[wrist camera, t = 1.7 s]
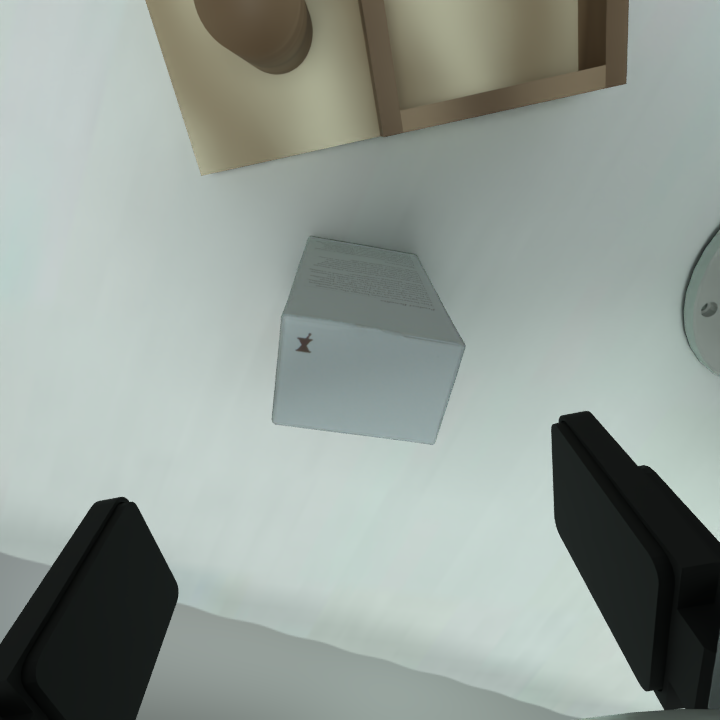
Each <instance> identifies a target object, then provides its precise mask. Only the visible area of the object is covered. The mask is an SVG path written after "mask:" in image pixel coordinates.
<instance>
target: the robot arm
mask: <svg viewBox="0 0 720 720" xmlns="http://www.w3.org/2000/svg"><path fill="white" fill-rule="evenodd" d="M684 323H685V332H686V335H687V338H688V341H689V344H690V347H691V349H692V350H693V352H694V353H695V355H696V356H697V358H698V360H699V361H700V362H701V363H702V364H703V365H705V366H706V367H707V368H708V369H709V370H710V371H711V372H713V373H714V374H716V375H718V376H719V377H720V230H719V231H718V233H717V234H716V235H715V237H714V238H713V239H712V241H711V242H710V243H709V245H708V246H707V247H706V249H705V250H704V252H703V254H702V256H701V258H700V260H699V262H698V263H697V265H696V267H695V269H694V271H693V274H692V277H691V280H690V283H689V286H688V289H687V292H686V299H685V306H684ZM551 435H552V463H553V491H554V517H555V523H556V527H557V530H558V533H559V535H560V537H561V539H562V540H563V542H564V544H565V546H566V548H567V550H568V552H569V553H570V555H571V557H572V559H573V561H574V563H575V565H576V567H577V568H578V570H579V572H580V574H581V576H582V578H583V580H584V581H585V583H586V585H587V587H588V589H589V591H590V593H591V595H592V596H593V598H594V600H595V602H596V604H597V606H598V608H599V609H600V611H601V613H602V615H603V617H604V619H605V621H606V623H607V624H608V626H609V628H610V630H611V632H612V634H613V636H614V637H615V639H616V641H617V643H618V645H619V647H620V649H621V651H622V652H623V654H624V656H625V658H626V660H627V662H628V664H629V665H630V667H631V669H632V671H633V673H634V675H635V677H636V679H637V680H638V682H639V684H640V685H641V687H642V688H643V689H644V690H645V691H652V690H654V692H655V694H656V696H657V698H658V699H659V701H660V703H661V705H662V707H663V708H664V710H661V711H648V712H634V713H625V714H617V715H609V716H601V717H593V718H585V719H577V720H720V542H719V541H718V540H717V539H716V538H715V537H714V536H713V535H712V533H711V532H710V531H709V530H708V529H707V528H706V527H705V526H704V525H703V524H702V523H701V521H700V520H699V519H698V518H697V517H696V516H695V515H694V514H693V513H692V512H691V510H690V509H689V508H688V507H687V506H686V505H685V504H684V503H683V502H682V501H681V500H680V498H679V497H678V496H677V495H676V494H675V493H674V492H673V491H672V490H671V489H670V488H669V486H668V485H667V484H666V483H665V482H664V481H663V480H662V479H661V478H660V477H659V475H658V474H657V473H656V472H655V471H654V470H652V469H651V468H650V467H648V466H645V465H642V466H637V465H636V463H635V462H634V461H633V460H632V459H631V458H630V457H629V456H628V454H627V453H626V452H625V451H624V450H623V449H622V448H621V446H620V445H619V444H618V443H617V442H616V441H615V440H614V438H613V437H612V436H611V435H610V434H609V433H608V432H607V430H606V429H605V428H604V427H603V426H602V425H601V424H600V422H599V421H598V420H597V419H596V418H595V417H594V416H593V415H592V414H591V413H590V412H589V411H583V412H578V413H573V414H567V415H562V416H560V418H559V423H556V424H553V425H552V427H551ZM177 599H178V585H177V582H176V580H175V578H174V576H173V574H172V572H171V571H170V569H169V567H168V565H167V563H166V561H165V559H164V557H163V555H162V553H161V551H160V549H159V547H158V545H157V543H156V542H155V540H154V538H153V536H152V534H151V532H150V530H149V528H148V526H147V524H146V522H145V520H144V518H143V516H142V514H141V513H140V511H139V509H138V507H137V505H136V504H135V503H134V502H129V501H128V499H126V498H125V497H118V498H113V499H107V500H102V501H98V502H96V503H94V504H93V506H92V507H91V508H90V510H89V511H88V513H87V514H86V516H85V517H84V519H83V520H82V522H81V523H80V525H79V526H78V528H77V529H76V531H75V532H74V534H73V535H72V537H71V538H70V540H69V541H68V543H67V544H66V546H65V547H64V549H63V550H62V552H61V553H60V555H59V556H58V558H57V559H56V561H55V562H54V564H53V565H52V567H51V569H50V570H49V572H48V573H47V574H46V576H45V578H44V579H43V581H42V582H41V584H40V585H39V587H38V588H37V590H36V591H35V593H34V594H33V596H32V597H31V599H30V600H29V602H28V603H27V605H26V606H25V608H24V609H23V611H22V612H21V614H20V615H19V617H18V618H17V620H16V621H15V623H14V624H13V626H12V627H11V629H10V630H9V632H8V633H7V635H6V636H5V638H4V639H3V641H2V642H1V644H0V720H136V717H137V714H138V711H139V708H140V705H141V703H142V700H143V697H144V694H145V691H146V688H147V685H148V683H149V680H150V677H151V674H152V671H153V668H154V665H155V663H156V659H157V657H158V654H159V651H160V648H161V646H162V642H163V640H164V637H165V634H166V631H167V628H168V626H169V623H170V620H171V617H172V614H173V611H174V608H175V606H176V603H177ZM681 708H685V709H681ZM674 709H675V710H674Z"/></svg>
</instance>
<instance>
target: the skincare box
mask: <svg viewBox="0 0 720 720" xmlns="http://www.w3.org/2000/svg"><path fill="white" fill-rule="evenodd" d="M464 350H465V343H464V342H463V340H462V338H461V337H460V335H459V333H458V331H457V329H456V328H455V326H454V324H453V322H452V320H451V319H450V317H449V315H448V313H447V311H446V310H445V308H444V306H443V304H442V302H441V300H440V298H439V296H438V294H437V293H436V291H435V289H434V287H433V285H432V283H431V281H430V279H429V278H428V276H427V274H426V272H425V270H424V268H423V266H422V264H421V262H420V261H419V259H418V257H417V256H416V255H414V254H408V253H403V252H397V251H392V250H386V249H381V248H375V247H369V246H364V245H358V244H352V243H347V242H341V241H335V240H329V239H323V238H317V237H313V236H310V237H309V238H308V241H307V243H306V247H305V250H304V253H303V256H302V258H301V261H300V264H299V267H298V270H297V273H296V276H295V279H294V282H293V285H292V288H291V291H290V294H289V298H288V301H287V303H286V306H285V309H284V311H283V314H282V316H281V326H280V338H279V348H278V359H277V369H276V379H275V390H274V400H273V411H272V422H273V423H274V424H275V425H285V426H292V427H300V428H308V429H315V430H323V431H331V432H339V433H347V434H355V435H363V436H372V437H379V438H387V439H394V440H402V441H410V442H417V443H424V444H430V445H433V444H435V442H436V439H437V435H438V432H439V429H440V426H441V423H442V420H443V417H444V413H445V410H446V407H447V404H448V401H449V398H450V394H451V391H452V388H453V385H454V382H455V379H456V376H457V372H458V369H459V366H460V363H461V360H462V356H463V353H464Z"/></svg>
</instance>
